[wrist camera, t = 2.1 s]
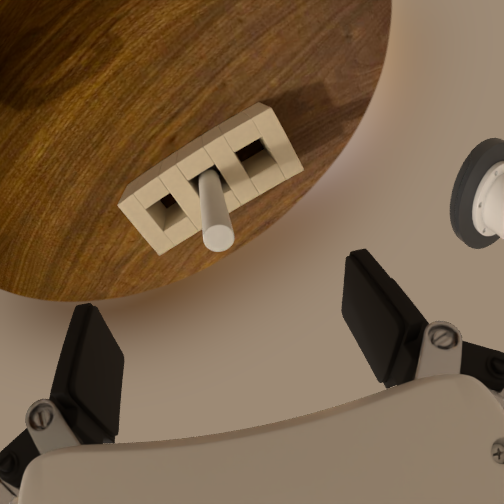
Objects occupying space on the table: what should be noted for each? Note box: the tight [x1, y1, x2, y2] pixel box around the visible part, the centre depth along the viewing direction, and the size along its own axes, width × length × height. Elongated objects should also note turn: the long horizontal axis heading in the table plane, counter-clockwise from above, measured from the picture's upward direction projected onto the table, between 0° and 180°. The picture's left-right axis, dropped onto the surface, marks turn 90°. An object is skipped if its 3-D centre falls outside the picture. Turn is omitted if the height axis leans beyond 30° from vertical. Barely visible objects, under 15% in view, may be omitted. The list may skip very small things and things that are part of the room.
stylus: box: [198, 164, 234, 252], centre depth 24 cm, size 2×2×14 cm
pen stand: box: [118, 102, 304, 255], centre depth 28 cm, size 15×6×5 cm, turn 119°
